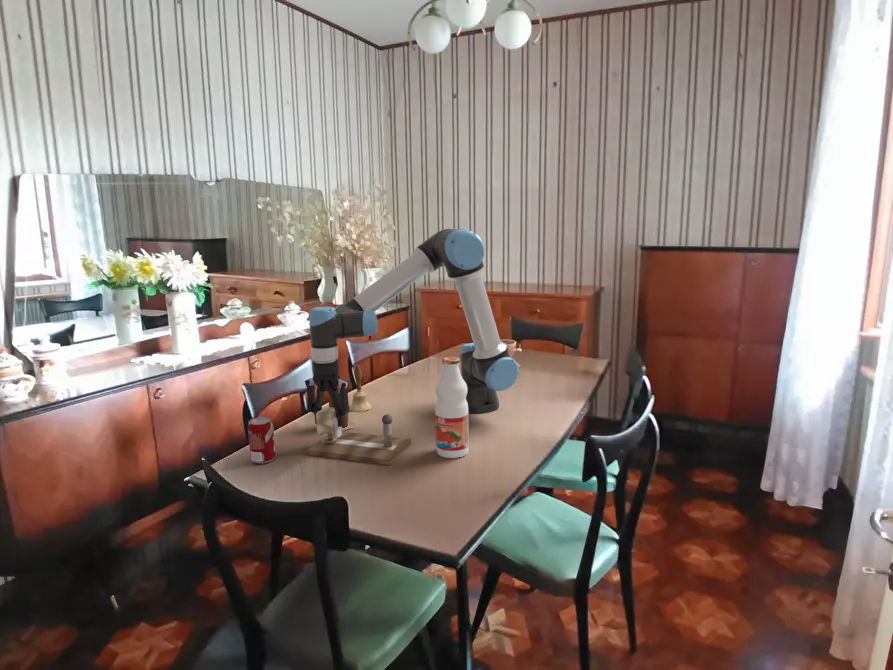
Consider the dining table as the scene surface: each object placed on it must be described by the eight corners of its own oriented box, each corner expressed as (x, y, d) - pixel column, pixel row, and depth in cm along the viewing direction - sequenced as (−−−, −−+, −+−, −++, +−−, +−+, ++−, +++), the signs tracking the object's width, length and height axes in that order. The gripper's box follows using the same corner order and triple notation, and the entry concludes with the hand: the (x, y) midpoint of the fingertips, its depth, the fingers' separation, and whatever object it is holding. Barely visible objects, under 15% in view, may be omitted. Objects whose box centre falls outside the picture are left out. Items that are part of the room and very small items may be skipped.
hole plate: (411, 443, 177) (410, 407, 175) (389, 465, 163) (388, 425, 160) (334, 435, 185) (332, 400, 183) (307, 454, 171) (304, 416, 168)
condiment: (346, 421, 198) (344, 386, 195) (354, 429, 190) (352, 393, 188) (325, 424, 195) (323, 390, 192) (332, 433, 187) (329, 397, 185)
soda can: (262, 467, 163) (258, 426, 160) (245, 462, 166) (242, 421, 164) (280, 458, 168) (277, 418, 166) (264, 453, 172) (261, 414, 169)
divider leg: (342, 435, 179) (340, 408, 177) (332, 443, 173) (330, 414, 171) (327, 434, 180) (326, 406, 178) (317, 441, 175) (315, 413, 173)
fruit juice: (475, 452, 170) (474, 358, 164) (452, 462, 164) (450, 364, 158) (453, 443, 177) (451, 352, 171) (429, 452, 170) (427, 358, 165)
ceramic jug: (523, 370, 257) (523, 338, 254) (519, 379, 243) (519, 345, 240) (483, 369, 261) (482, 338, 258) (476, 378, 247) (476, 344, 245)
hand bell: (367, 412, 206) (365, 368, 203) (345, 411, 208) (342, 367, 204) (375, 405, 214) (373, 362, 211) (353, 404, 216) (351, 361, 212)
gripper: (359, 358, 172) (362, 433, 177) (305, 355, 178) (310, 428, 183) (347, 365, 165) (351, 443, 170) (291, 361, 171) (296, 436, 176)
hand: (330, 435), depth 176 cm, fingers closed on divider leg, 5 cm apart
